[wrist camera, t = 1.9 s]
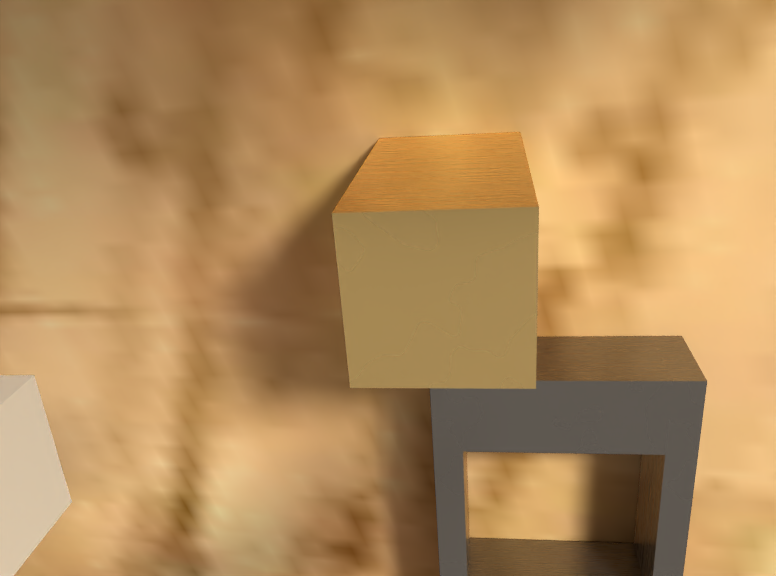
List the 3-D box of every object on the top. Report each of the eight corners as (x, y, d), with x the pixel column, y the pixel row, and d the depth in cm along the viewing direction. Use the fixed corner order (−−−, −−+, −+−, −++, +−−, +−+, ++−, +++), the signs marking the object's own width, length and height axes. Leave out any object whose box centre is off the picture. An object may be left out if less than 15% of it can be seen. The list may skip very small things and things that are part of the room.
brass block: (379, 138, 23) (331, 213, 16) (520, 131, 22) (538, 206, 15) (388, 267, 25) (350, 388, 17) (519, 264, 24) (536, 388, 17)
